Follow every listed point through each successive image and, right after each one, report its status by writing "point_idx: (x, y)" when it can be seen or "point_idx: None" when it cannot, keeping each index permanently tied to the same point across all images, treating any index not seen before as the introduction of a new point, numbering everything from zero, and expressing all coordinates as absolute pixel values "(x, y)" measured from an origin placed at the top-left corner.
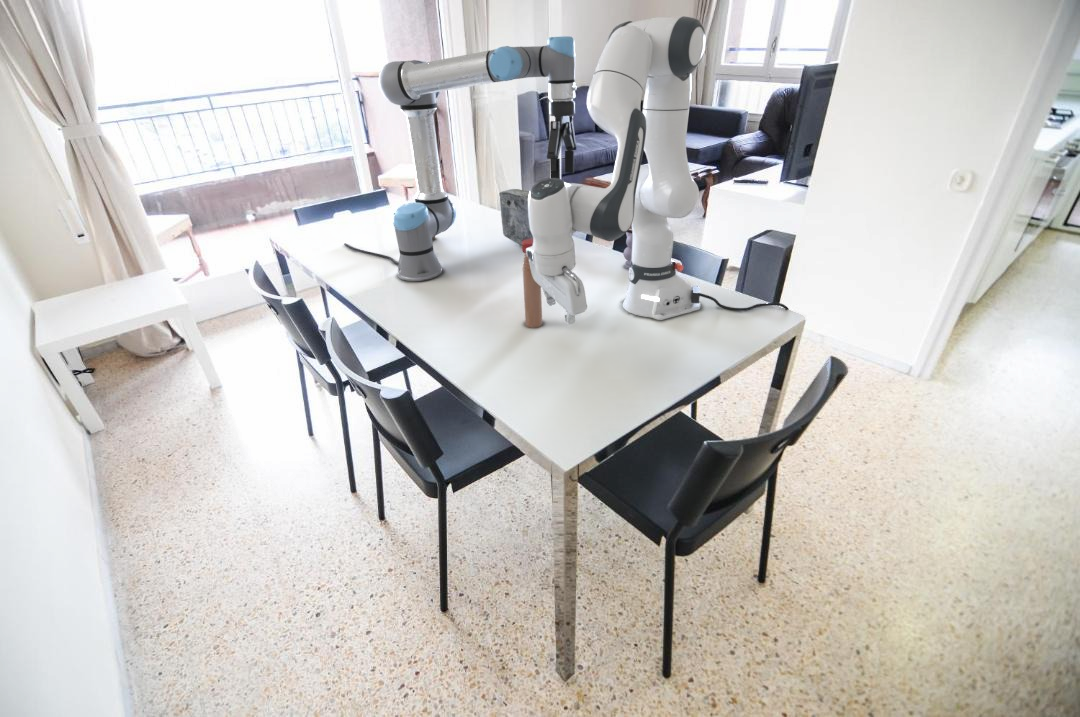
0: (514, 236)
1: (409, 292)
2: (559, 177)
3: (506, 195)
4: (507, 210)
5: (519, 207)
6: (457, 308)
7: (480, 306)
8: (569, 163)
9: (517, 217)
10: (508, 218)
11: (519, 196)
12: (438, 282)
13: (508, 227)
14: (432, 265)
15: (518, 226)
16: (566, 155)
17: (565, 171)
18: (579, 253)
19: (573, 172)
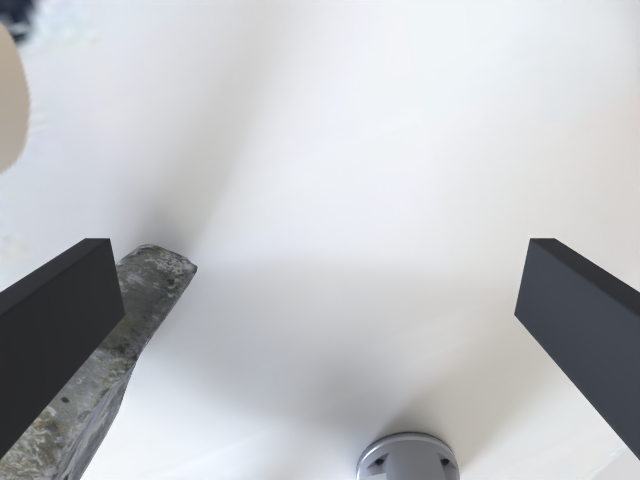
0: (126, 378)
1: (510, 441)
2: (568, 254)
3: None
4: (78, 463)
5: (82, 435)
6: None
7: None
8: (61, 323)
9: (98, 413)
10: (94, 437)
11: (57, 473)
12: (446, 416)
13: (109, 415)
14: (427, 462)
15: (115, 388)
16: (4, 430)
17: (120, 316)
18: (121, 153)
19: (94, 239)
